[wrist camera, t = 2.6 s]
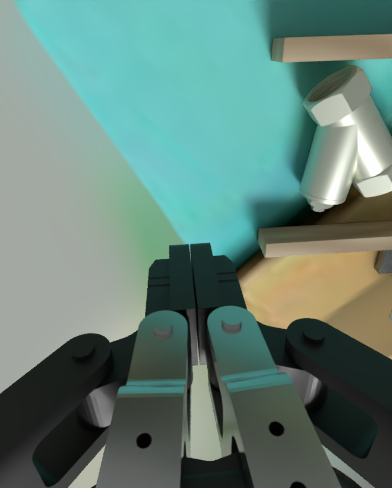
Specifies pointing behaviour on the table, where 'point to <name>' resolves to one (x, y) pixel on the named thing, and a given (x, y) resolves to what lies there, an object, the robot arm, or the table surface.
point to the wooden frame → (328, 235)
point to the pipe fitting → (345, 141)
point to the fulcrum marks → (384, 262)
